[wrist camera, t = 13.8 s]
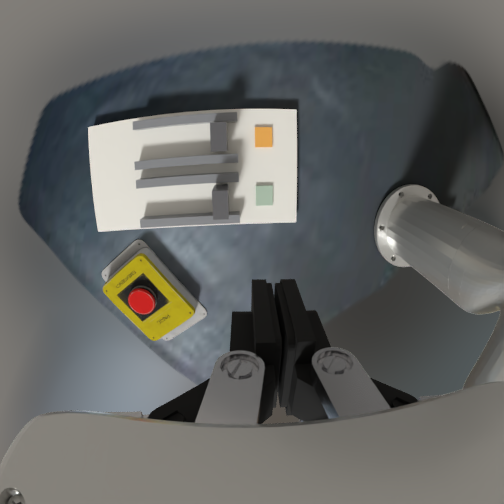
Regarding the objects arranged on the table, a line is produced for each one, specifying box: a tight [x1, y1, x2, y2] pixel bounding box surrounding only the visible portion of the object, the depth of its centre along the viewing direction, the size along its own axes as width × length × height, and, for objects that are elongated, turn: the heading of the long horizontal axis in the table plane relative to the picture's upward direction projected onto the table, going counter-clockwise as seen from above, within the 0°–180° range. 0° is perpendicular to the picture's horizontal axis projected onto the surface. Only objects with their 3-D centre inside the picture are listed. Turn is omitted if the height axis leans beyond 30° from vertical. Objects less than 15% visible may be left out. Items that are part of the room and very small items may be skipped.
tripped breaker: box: [210, 122, 228, 152], centre depth 29 cm, size 2×3×5 cm, turn 1°
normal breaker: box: [212, 184, 229, 220], centre depth 31 cm, size 2×3×5 cm, turn 1°
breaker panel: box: [88, 109, 297, 232], centre depth 32 cm, size 26×14×3 cm, turn 91°
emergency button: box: [102, 239, 207, 341], centre depth 38 cm, size 9×4×15 cm
